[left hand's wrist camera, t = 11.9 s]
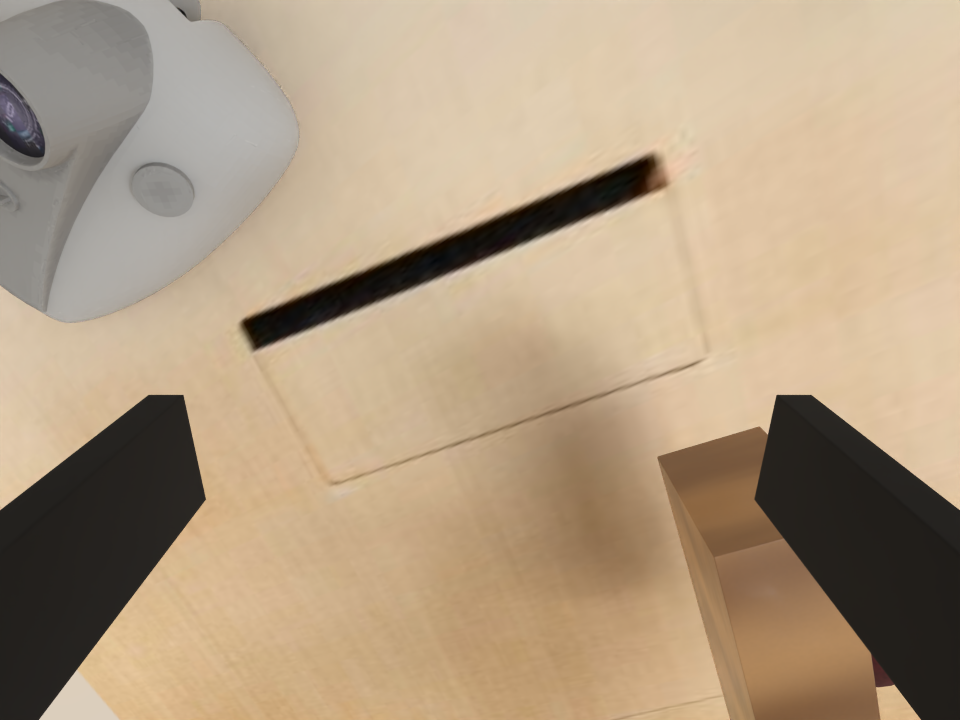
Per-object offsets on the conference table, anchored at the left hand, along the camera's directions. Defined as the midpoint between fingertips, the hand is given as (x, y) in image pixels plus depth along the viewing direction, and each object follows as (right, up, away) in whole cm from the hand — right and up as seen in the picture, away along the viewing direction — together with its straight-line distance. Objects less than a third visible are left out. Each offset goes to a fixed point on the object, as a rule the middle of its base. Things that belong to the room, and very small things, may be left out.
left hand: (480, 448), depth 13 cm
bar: (+17, -13, +24) cm, 32 cm away
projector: (-23, +15, +25) cm, 37 cm away
